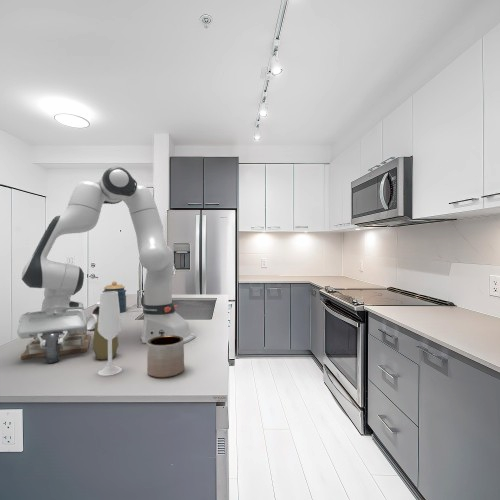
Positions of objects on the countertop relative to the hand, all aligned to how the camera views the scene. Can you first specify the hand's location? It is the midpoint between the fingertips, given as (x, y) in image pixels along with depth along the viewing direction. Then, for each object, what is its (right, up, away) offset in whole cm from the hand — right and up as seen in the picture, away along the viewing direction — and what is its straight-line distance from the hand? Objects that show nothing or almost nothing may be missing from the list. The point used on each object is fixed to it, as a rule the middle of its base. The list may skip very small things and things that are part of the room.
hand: (51, 345), depth 104 cm
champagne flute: (+22, -6, -7) cm, 24 cm away
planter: (+39, -6, -7) cm, 40 cm away
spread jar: (-5, -5, +44) cm, 45 cm away
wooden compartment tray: (-7, -5, +16) cm, 19 cm away
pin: (0, -5, +1) cm, 5 cm away
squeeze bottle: (+15, -6, +5) cm, 17 cm away
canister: (-14, -5, +81) cm, 83 cm away
